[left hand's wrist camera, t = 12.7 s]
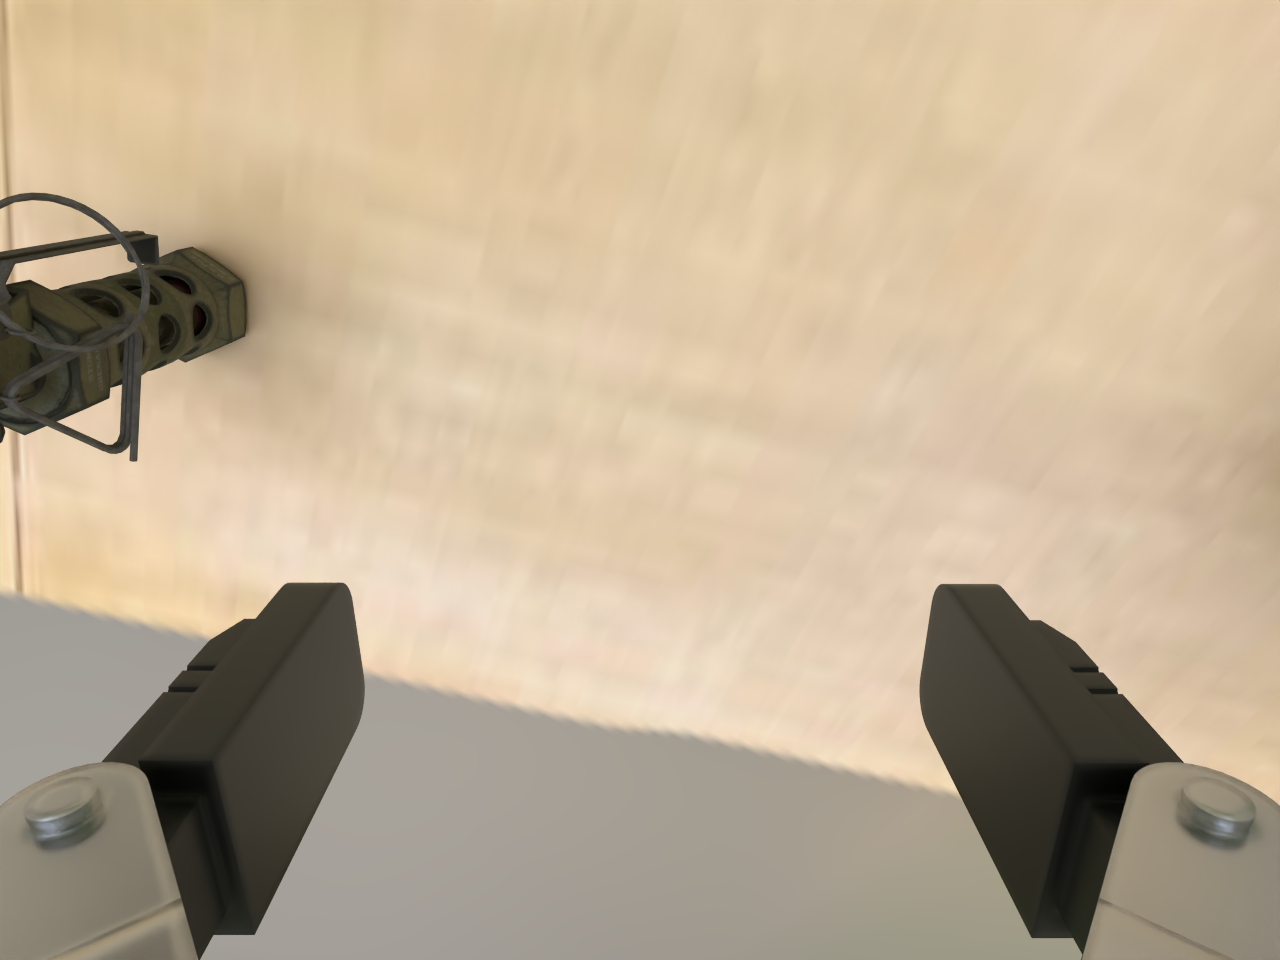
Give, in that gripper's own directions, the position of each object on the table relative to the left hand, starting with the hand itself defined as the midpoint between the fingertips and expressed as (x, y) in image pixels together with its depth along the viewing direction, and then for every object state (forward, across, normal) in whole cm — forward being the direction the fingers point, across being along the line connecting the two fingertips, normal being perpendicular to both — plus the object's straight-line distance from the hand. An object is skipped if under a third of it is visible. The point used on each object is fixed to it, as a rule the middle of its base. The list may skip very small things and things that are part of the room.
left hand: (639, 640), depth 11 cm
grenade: (+29, +20, -1) cm, 35 cm away
